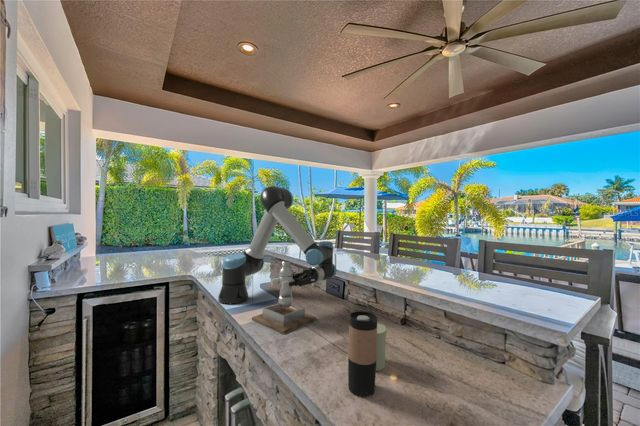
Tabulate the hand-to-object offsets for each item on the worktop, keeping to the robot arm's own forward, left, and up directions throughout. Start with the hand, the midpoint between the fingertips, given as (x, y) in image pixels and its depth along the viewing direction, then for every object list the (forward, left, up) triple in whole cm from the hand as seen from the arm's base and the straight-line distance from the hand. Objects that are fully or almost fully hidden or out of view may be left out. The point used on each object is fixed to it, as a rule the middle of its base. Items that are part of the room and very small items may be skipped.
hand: (277, 284), depth 118 cm
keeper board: (-4, +3, -17) cm, 18 cm away
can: (+29, +35, -17) cm, 48 cm away
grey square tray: (-4, +3, -16) cm, 16 cm away
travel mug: (+42, +30, -17) cm, 54 cm away
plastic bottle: (-4, +3, -11) cm, 12 cm away
